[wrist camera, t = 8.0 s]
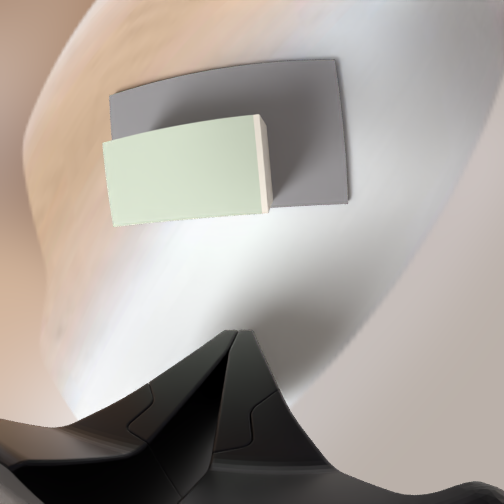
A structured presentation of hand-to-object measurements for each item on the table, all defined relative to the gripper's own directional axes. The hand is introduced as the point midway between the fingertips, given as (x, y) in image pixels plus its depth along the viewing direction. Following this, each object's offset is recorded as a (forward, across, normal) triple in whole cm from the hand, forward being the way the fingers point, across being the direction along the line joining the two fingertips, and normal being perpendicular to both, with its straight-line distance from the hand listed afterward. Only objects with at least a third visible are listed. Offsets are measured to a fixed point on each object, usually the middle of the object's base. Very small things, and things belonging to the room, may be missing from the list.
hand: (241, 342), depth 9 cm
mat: (+13, +3, -7) cm, 15 cm away
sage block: (+10, 0, -5) cm, 11 cm away
